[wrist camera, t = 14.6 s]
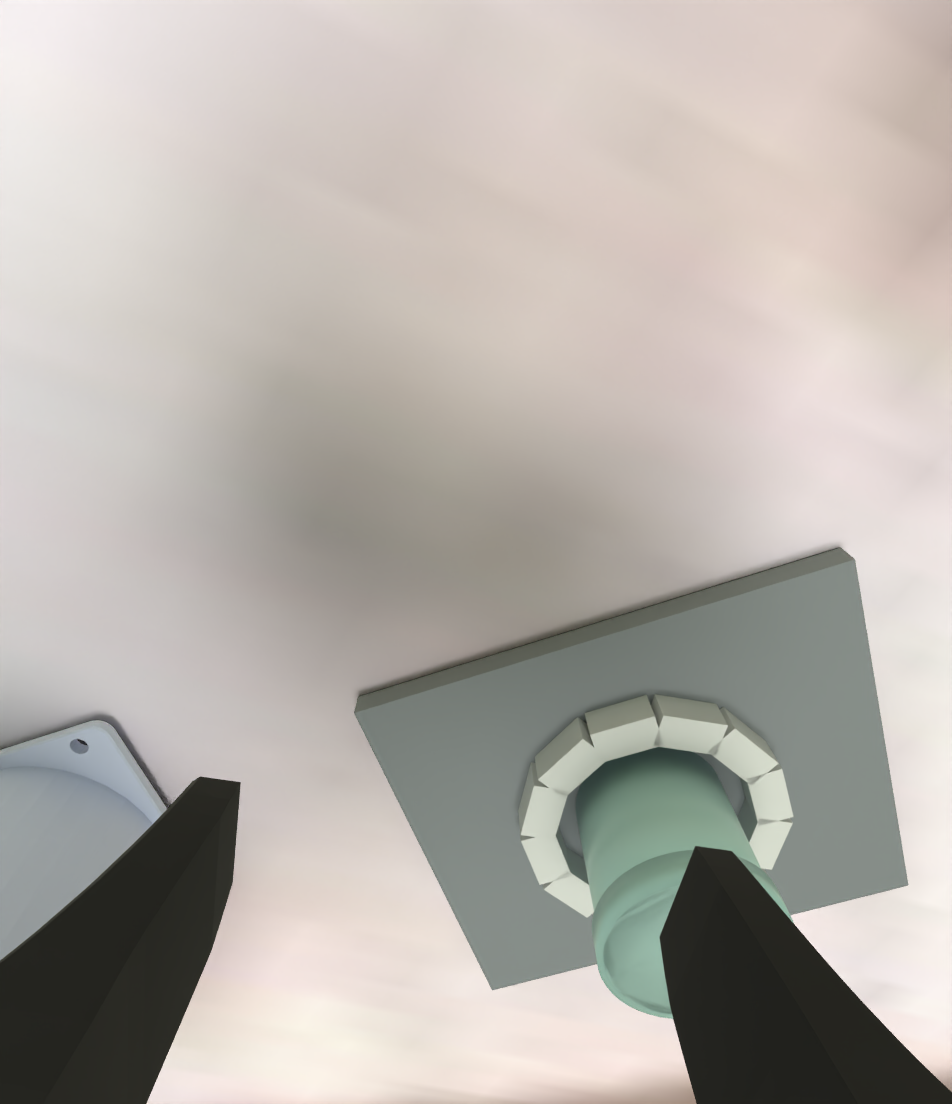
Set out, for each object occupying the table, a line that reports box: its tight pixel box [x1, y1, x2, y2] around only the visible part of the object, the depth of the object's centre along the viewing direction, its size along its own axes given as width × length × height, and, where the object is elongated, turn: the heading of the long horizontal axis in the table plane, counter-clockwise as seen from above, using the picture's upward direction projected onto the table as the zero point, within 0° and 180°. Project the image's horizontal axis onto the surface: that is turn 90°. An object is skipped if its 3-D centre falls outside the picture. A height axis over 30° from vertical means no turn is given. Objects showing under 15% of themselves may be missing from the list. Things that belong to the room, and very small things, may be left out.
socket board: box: [354, 548, 908, 990], centre depth 22 cm, size 14×12×2 cm
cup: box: [575, 747, 793, 1019], centre depth 20 cm, size 5×5×5 cm
